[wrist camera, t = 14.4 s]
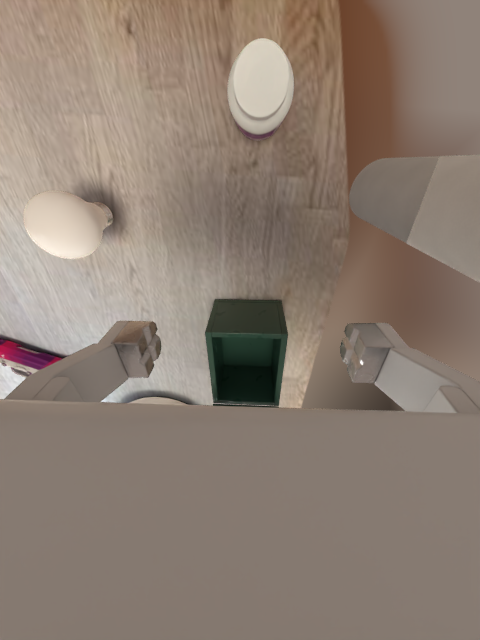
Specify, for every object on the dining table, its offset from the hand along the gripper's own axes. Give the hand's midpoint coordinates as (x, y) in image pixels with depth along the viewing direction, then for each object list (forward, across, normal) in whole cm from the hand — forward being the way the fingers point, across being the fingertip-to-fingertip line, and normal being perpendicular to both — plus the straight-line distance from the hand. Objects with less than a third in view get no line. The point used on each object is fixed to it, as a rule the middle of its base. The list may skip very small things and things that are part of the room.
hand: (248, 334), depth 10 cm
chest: (+24, +1, +19) cm, 31 cm away
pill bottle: (+25, -1, -11) cm, 27 cm away
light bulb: (+25, +20, -1) cm, 31 cm away
